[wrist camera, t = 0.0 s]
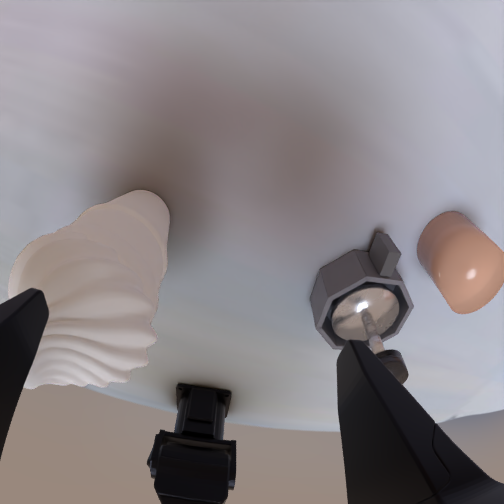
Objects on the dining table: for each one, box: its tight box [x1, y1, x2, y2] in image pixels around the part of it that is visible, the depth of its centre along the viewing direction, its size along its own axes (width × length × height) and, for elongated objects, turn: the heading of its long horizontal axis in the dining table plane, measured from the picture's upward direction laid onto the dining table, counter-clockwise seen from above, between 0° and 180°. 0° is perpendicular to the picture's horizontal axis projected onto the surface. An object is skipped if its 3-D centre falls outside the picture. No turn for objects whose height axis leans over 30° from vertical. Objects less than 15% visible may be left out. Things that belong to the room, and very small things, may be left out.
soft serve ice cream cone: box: [8, 190, 170, 389], centre depth 16 cm, size 8×8×16 cm
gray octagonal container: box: [310, 232, 414, 350], centre depth 24 cm, size 10×8×4 cm
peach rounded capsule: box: [417, 211, 504, 314], centre depth 21 cm, size 6×6×6 cm
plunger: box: [331, 284, 408, 384], centre depth 20 cm, size 6×6×7 cm
